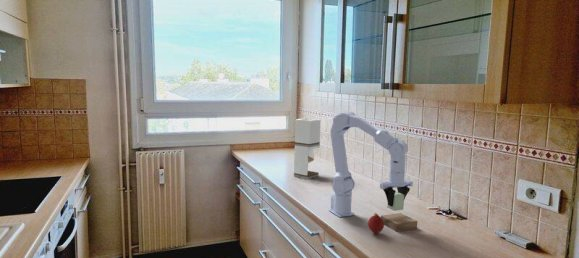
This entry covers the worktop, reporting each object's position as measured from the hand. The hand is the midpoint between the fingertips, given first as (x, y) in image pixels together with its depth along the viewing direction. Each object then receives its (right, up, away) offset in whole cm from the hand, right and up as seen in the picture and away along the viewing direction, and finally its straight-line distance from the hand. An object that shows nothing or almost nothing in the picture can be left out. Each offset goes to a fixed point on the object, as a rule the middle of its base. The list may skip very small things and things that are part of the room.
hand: (395, 205), depth 150 cm
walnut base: (+2, -8, +1) cm, 9 cm away
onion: (-10, -9, -8) cm, 16 cm away
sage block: (0, -1, 0) cm, 1 cm away
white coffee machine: (-32, +1, +82) cm, 88 cm away
